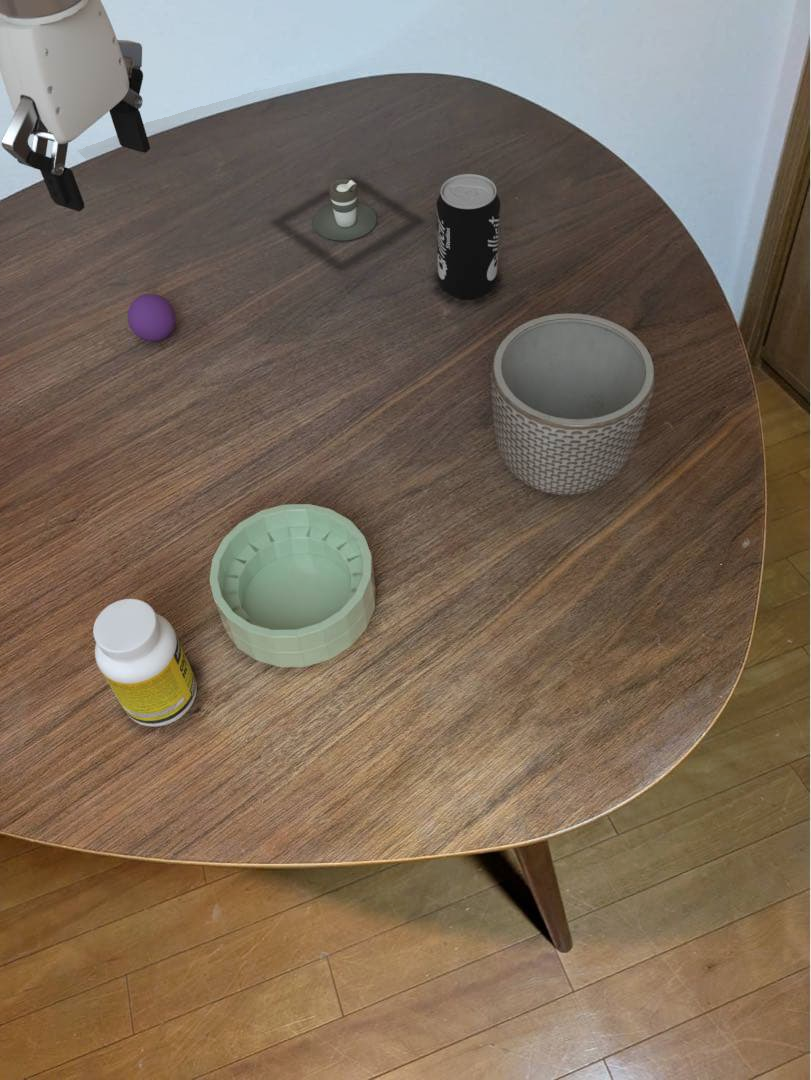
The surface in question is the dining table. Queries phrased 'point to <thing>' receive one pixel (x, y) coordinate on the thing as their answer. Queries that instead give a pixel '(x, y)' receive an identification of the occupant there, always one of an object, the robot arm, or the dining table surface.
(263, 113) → the dining table surface
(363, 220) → the coffee cup
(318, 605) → the bowl
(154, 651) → the pill bottle
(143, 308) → the ball
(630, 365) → the planter
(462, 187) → the beverage can
